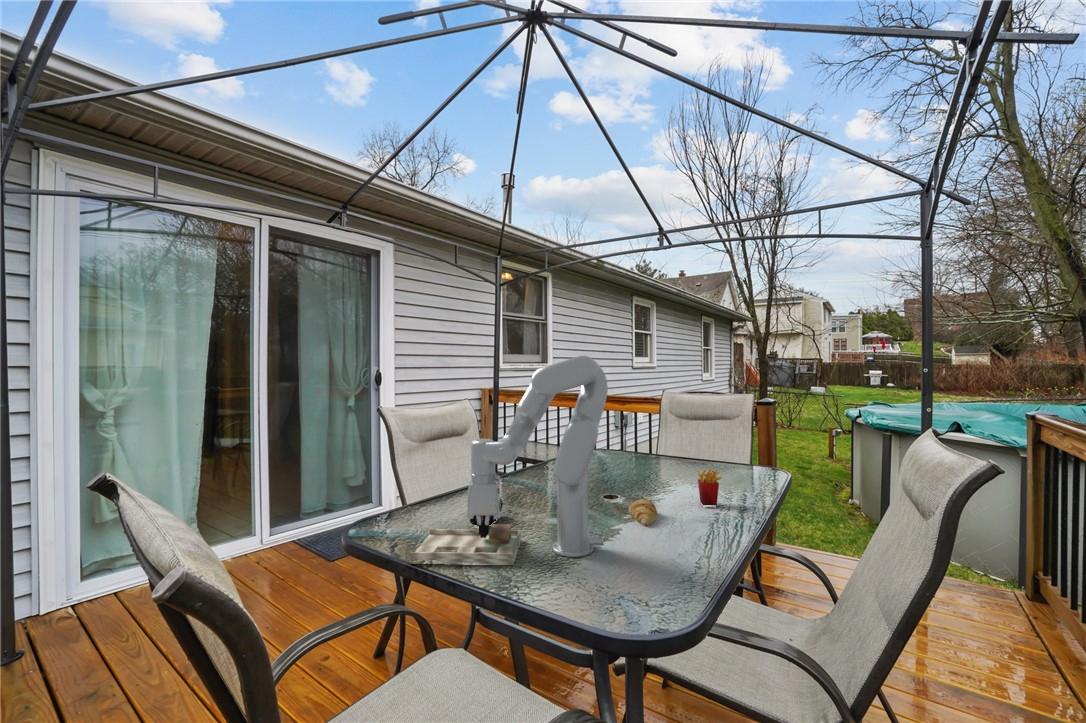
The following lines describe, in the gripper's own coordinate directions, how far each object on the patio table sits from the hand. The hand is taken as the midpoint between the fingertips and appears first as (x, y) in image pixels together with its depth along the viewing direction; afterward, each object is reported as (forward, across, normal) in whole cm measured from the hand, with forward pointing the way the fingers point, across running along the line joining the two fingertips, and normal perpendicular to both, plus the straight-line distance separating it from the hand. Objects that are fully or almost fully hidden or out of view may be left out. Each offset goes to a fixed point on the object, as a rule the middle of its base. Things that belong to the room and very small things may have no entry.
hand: (483, 536), depth 152 cm
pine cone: (+4, +3, -22) cm, 23 cm away
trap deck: (+3, +4, +4) cm, 7 cm away
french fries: (+3, -82, -42) cm, 93 cm away
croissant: (+3, -54, -29) cm, 61 cm away
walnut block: (+1, -5, 0) cm, 5 cm away
